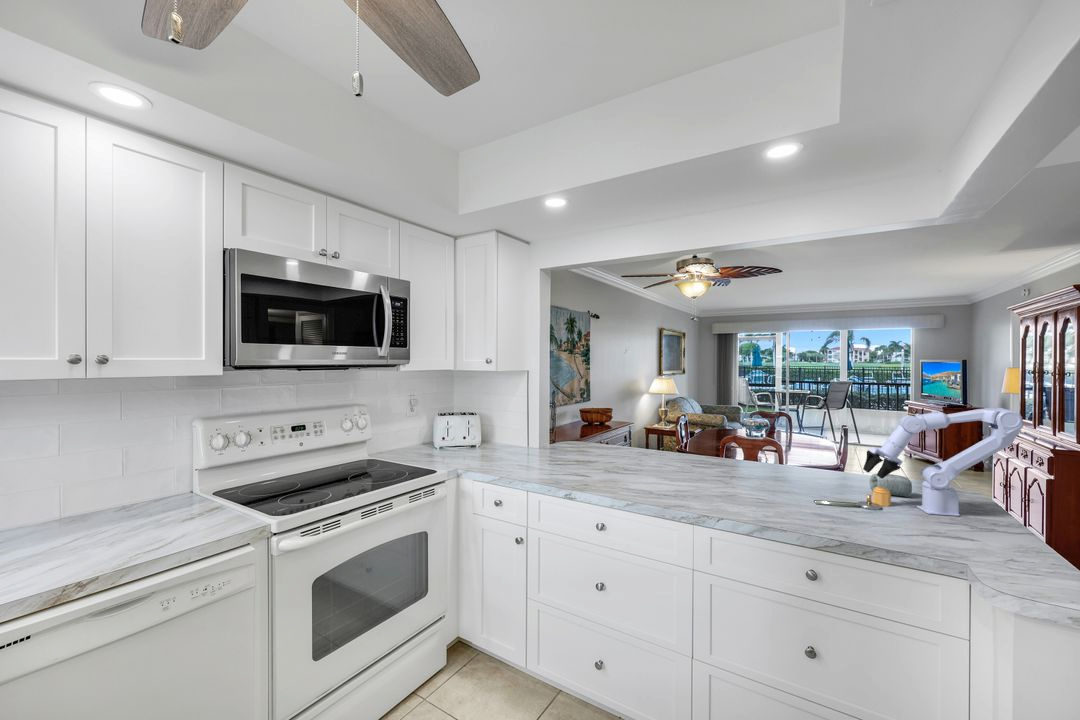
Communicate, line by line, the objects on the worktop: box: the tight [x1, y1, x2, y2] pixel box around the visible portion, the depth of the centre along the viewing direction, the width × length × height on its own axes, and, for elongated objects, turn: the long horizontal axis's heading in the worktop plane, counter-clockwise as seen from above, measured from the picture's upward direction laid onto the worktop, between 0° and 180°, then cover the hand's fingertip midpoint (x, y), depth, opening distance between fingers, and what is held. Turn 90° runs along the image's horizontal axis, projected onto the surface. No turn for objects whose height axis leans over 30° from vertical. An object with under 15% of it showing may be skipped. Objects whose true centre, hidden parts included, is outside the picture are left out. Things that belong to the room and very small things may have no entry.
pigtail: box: [813, 493, 882, 511], centre depth 172 cm, size 21×7×4 cm, turn 75°
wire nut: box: [872, 487, 892, 507], centre depth 173 cm, size 5×5×6 cm
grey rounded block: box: [869, 473, 913, 498], centre depth 184 cm, size 14×10×10 cm
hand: (872, 474), depth 173 cm, fingers open, 7 cm apart
